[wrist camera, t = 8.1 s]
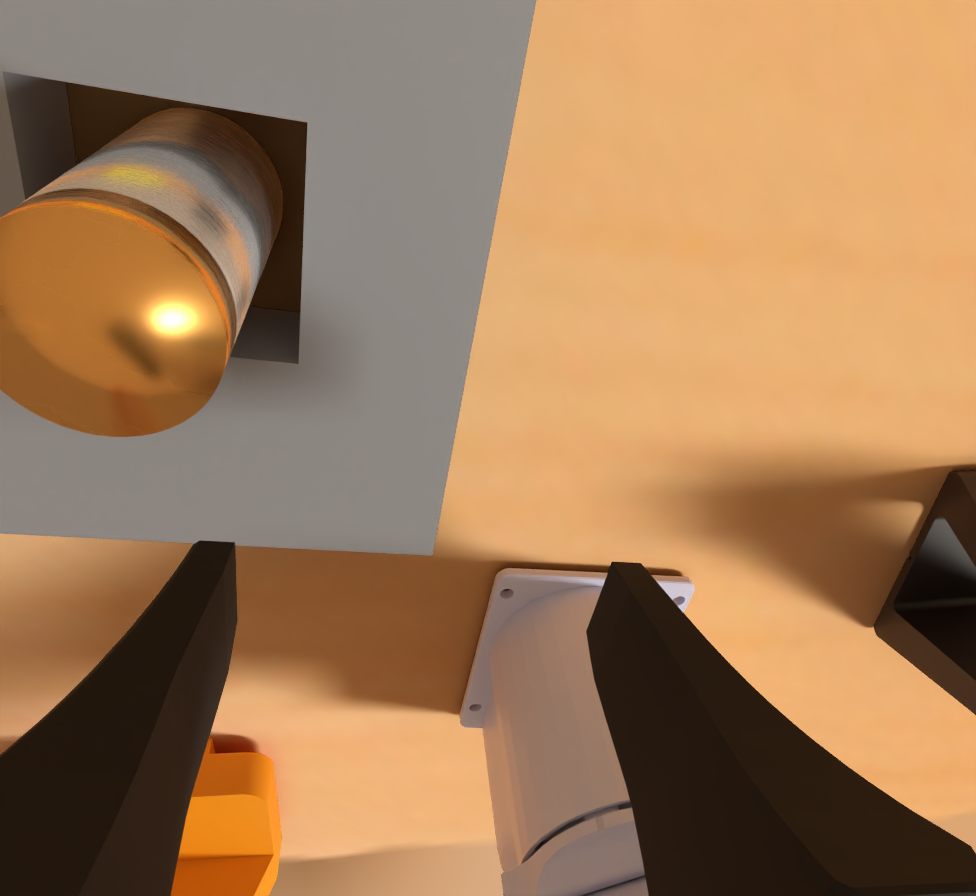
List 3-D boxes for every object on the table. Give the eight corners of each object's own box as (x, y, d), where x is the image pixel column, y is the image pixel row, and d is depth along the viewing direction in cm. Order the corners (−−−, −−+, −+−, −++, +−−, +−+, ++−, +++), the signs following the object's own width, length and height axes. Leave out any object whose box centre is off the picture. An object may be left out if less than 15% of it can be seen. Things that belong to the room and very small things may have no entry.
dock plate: (427, 494, 24) (432, 555, 22) (-31, 462, 21) (-85, 528, 19) (546, -199, 14) (578, -230, 12) (-279, -425, 12) (-459, -527, 9)
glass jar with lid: (283, 278, 19) (230, 444, 13) (125, 261, 19) (-16, 428, 12) (283, 121, 17) (220, 225, 11) (104, 94, 16) (-82, 188, 10)
